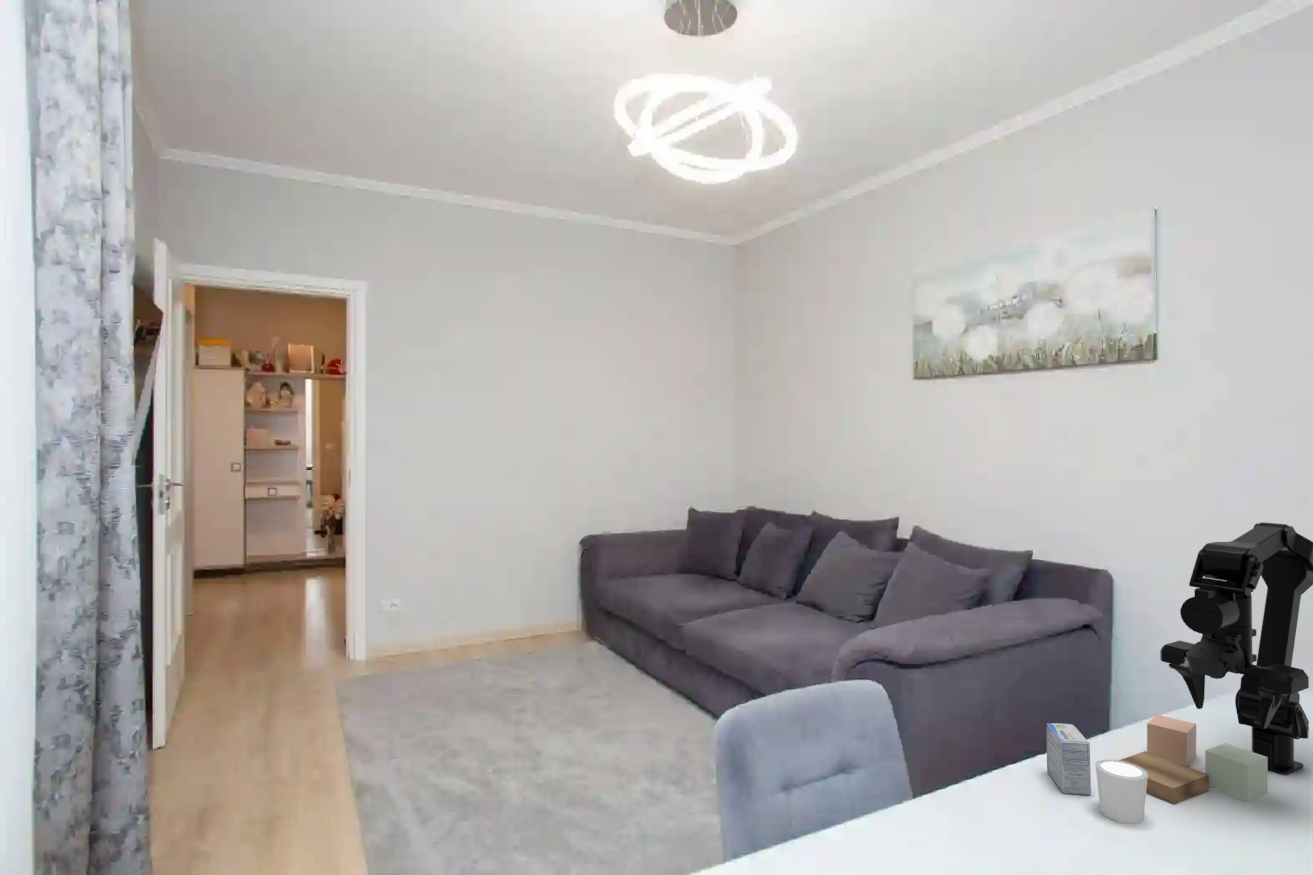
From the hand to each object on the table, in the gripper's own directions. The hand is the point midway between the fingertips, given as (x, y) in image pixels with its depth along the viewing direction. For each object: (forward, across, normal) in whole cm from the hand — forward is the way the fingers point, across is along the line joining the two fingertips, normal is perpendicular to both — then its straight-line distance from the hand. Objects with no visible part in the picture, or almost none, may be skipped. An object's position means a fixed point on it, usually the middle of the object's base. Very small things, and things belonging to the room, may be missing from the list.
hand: (1230, 717), depth 121 cm
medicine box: (+12, -14, -22) cm, 28 cm away
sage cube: (+12, 0, +1) cm, 12 cm away
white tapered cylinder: (+11, -4, -23) cm, 26 cm away
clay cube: (+12, -12, +4) cm, 17 cm away
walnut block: (+12, -7, -8) cm, 16 cm away
